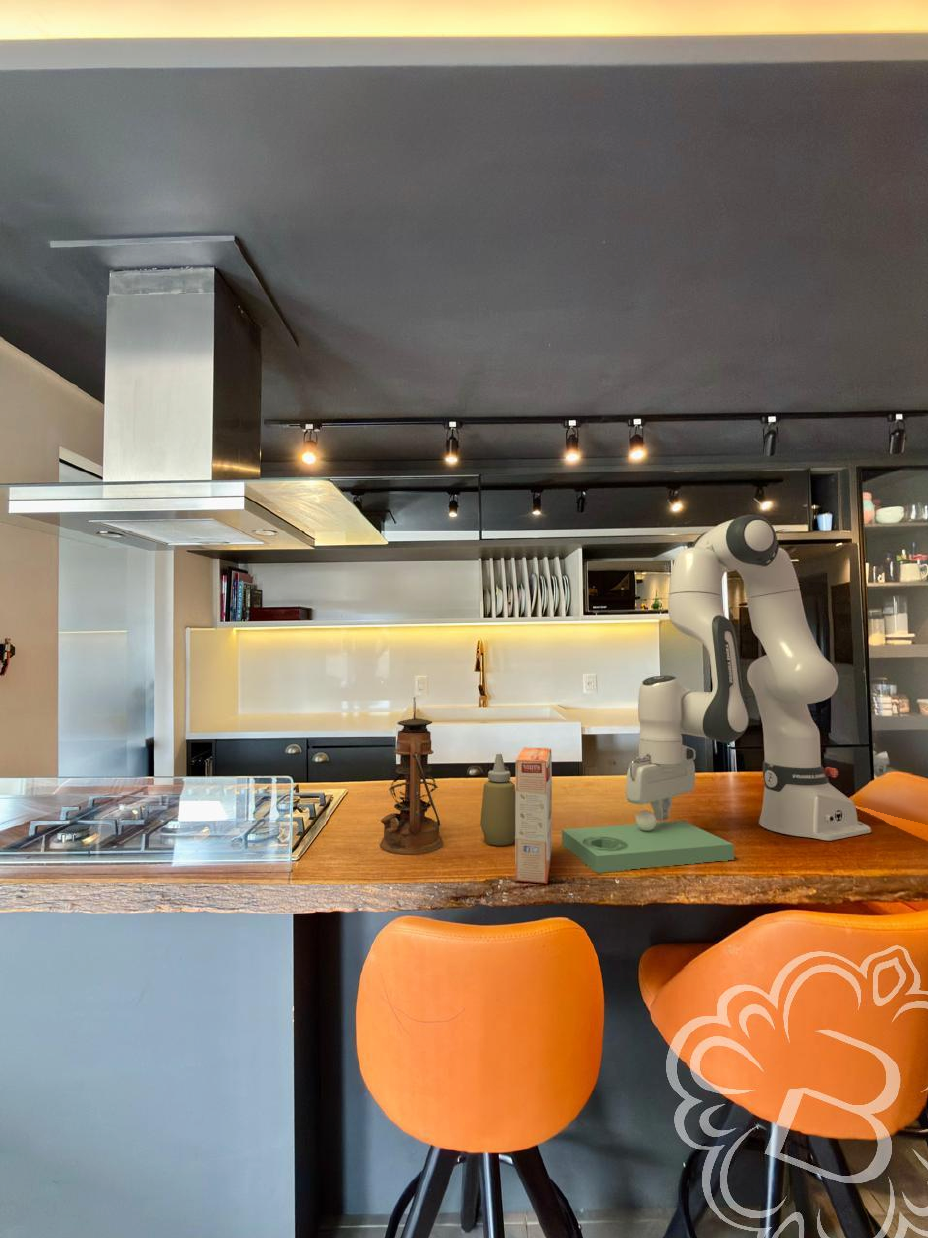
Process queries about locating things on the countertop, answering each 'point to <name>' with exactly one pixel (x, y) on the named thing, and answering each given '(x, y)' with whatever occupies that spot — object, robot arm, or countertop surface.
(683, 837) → the putting board
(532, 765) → the cracker box
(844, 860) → the countertop surface
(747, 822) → the countertop surface
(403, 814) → the lantern
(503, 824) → the squeeze bottle
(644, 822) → the ball
